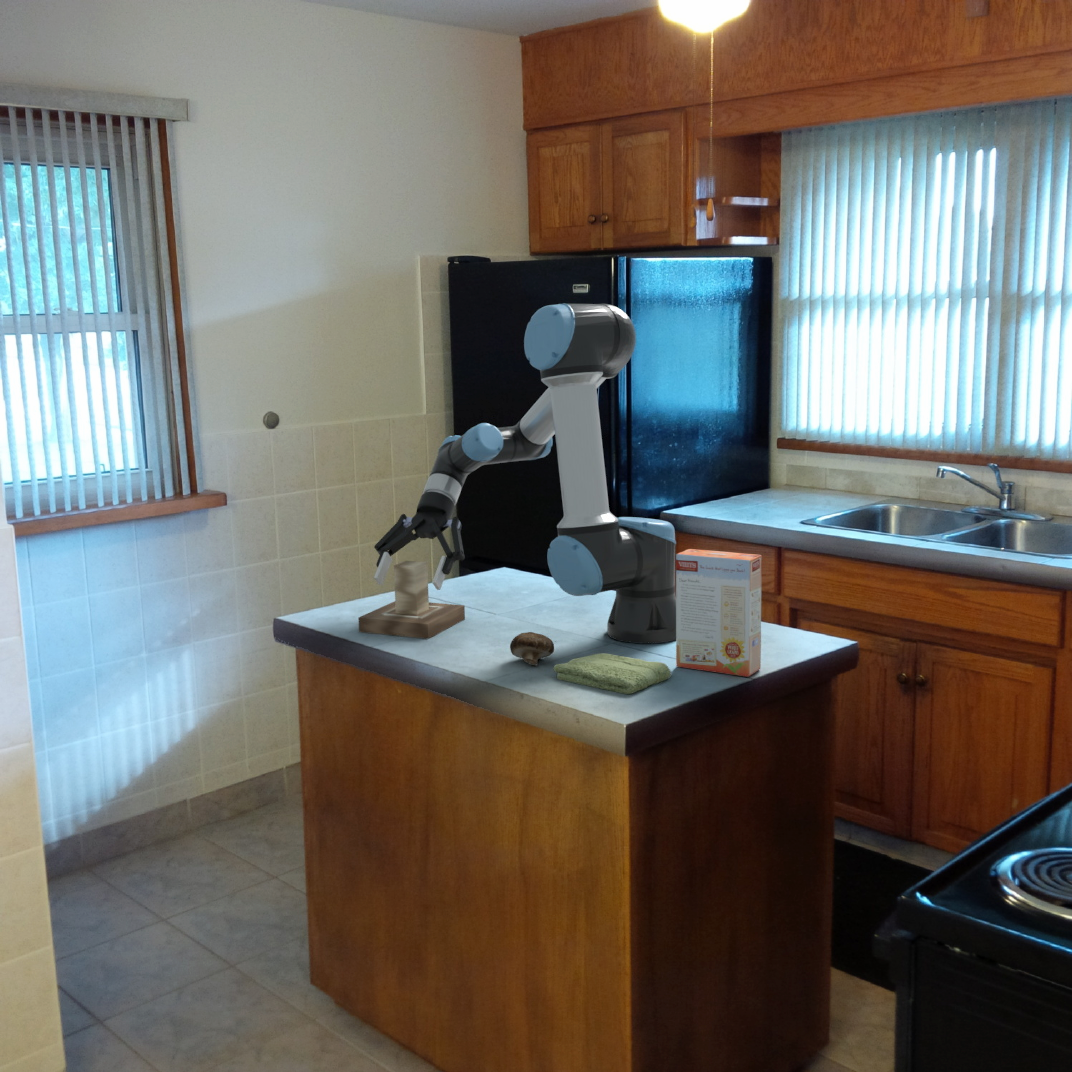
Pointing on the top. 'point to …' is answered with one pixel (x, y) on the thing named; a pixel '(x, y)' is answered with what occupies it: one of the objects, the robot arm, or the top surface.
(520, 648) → the mushroom
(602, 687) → the washcloth
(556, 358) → the robot arm
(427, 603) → the beech pillar
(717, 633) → the cracker box
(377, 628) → the base board
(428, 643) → the top surface
